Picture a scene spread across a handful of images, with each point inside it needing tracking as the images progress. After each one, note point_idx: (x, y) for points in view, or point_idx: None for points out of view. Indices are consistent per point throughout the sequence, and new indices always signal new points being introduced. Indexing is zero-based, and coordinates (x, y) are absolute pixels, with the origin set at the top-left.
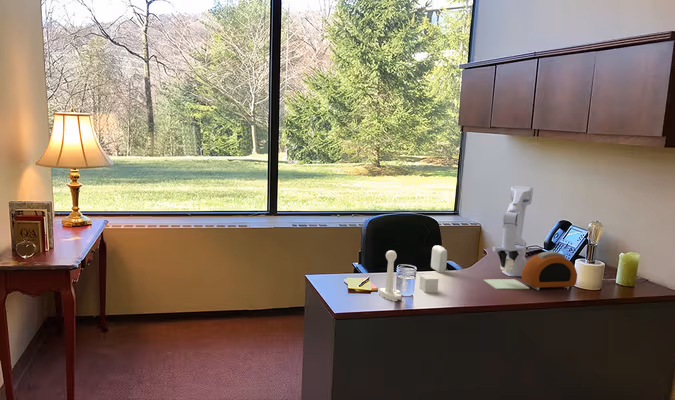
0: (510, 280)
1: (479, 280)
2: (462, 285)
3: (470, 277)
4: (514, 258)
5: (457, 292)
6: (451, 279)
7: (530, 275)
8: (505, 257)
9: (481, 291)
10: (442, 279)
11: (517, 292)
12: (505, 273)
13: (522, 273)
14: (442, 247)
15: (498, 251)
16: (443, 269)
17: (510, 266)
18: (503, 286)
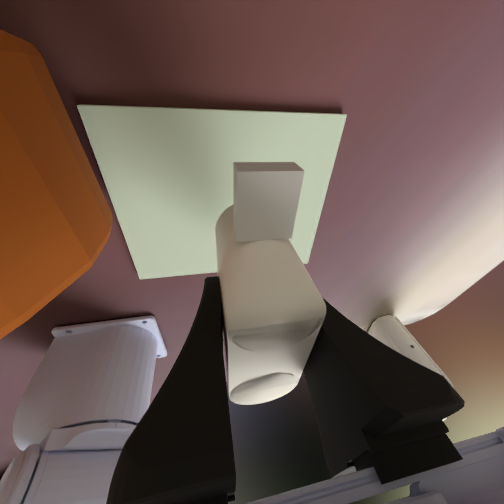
0: (175, 259)
1: (322, 259)
2: (451, 192)
3: (330, 288)
4: (199, 362)
5: None
6: (418, 262)
7: (4, 102)
8: (350, 351)
9: (464, 75)
10: (447, 260)
11: (229, 3)
12: (160, 337)
13: (99, 243)
14: None
15: (463, 442)
16: (392, 325)
17: (294, 212)
18: (276, 152)
